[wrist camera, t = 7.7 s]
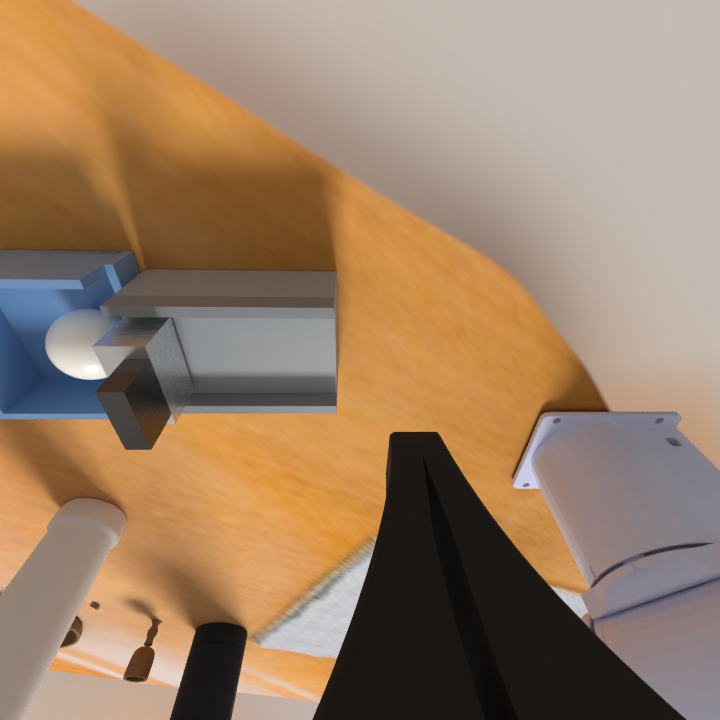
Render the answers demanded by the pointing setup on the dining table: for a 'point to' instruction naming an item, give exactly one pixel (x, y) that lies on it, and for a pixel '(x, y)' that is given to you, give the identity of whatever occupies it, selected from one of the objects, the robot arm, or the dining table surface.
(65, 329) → the ball
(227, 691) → the wine bottle
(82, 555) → the bottle
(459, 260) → the dining table surface
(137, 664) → the place setting
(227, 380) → the open gray tray
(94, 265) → the open box
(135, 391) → the grey angular hollow piece
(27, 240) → the dining table surface
